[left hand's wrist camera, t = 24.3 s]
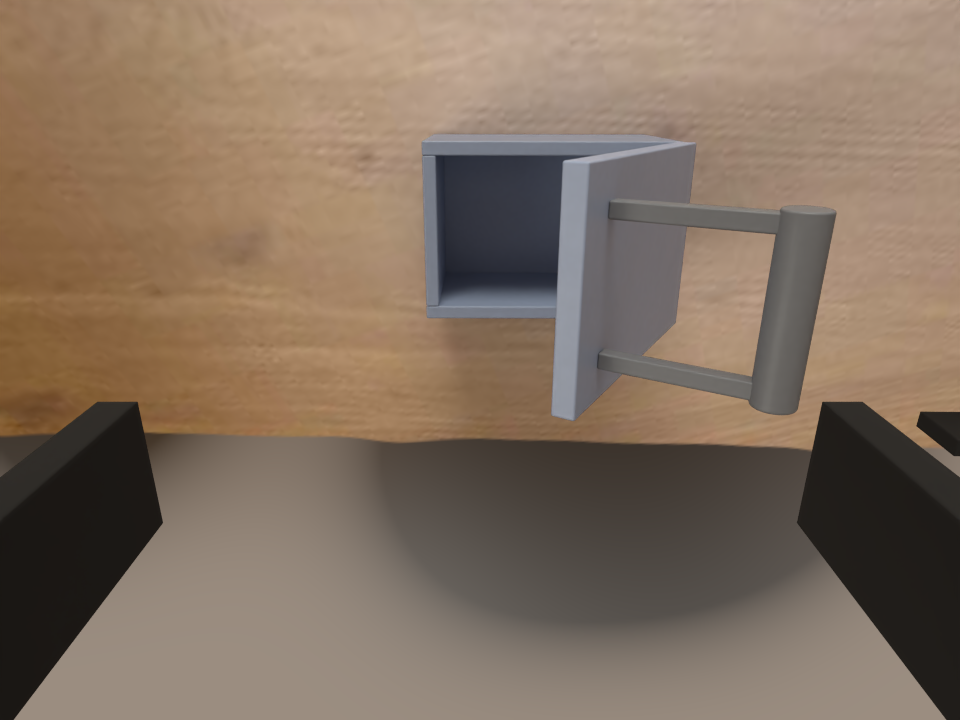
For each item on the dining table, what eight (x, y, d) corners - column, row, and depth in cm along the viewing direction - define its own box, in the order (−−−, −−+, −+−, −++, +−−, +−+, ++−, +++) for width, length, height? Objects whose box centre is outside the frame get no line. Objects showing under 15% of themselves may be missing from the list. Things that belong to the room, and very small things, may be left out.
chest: (436, 279, 45) (426, 318, 37) (433, 133, 42) (421, 141, 33) (631, 280, 45) (664, 319, 37) (644, 134, 42) (683, 141, 33)
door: (550, 416, 25) (781, 474, 21) (561, 160, 22) (840, 173, 18) (657, 320, 37) (822, 347, 33) (676, 141, 33) (863, 147, 29)
